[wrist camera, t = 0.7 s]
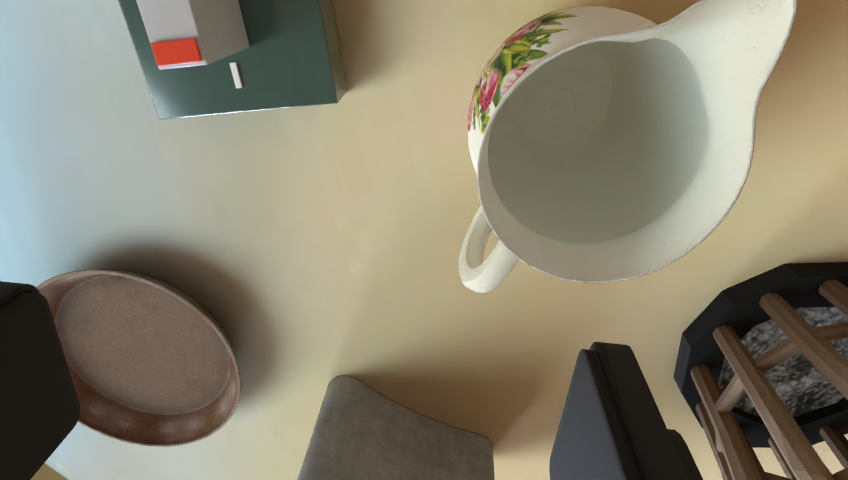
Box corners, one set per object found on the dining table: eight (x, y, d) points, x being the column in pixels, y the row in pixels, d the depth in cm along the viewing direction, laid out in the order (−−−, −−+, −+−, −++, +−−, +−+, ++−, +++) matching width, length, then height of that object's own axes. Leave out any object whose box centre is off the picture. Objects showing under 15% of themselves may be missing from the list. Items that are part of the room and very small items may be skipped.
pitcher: (397, 176, 35) (362, 289, 23) (572, -93, 28) (655, -132, 15) (528, 256, 38) (559, 397, 25) (725, 28, 30) (902, 76, 18)
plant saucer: (62, 212, 38) (32, 231, 36) (284, 317, 42) (272, 341, 39) (25, 368, 46) (-2, 393, 44) (214, 446, 49) (200, 474, 47)
